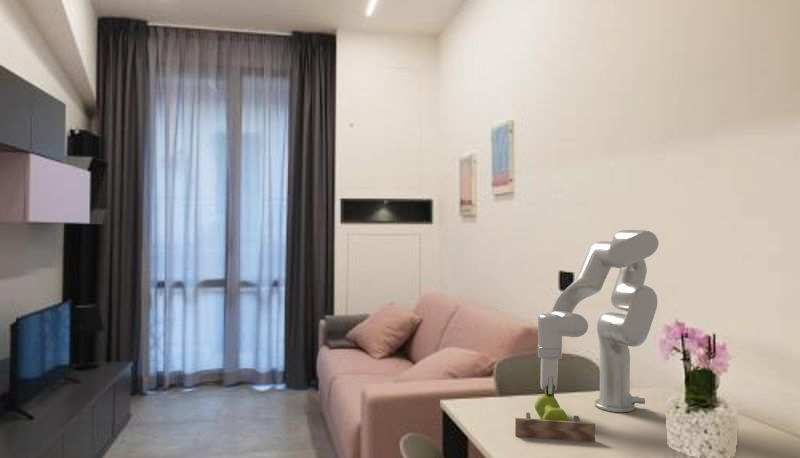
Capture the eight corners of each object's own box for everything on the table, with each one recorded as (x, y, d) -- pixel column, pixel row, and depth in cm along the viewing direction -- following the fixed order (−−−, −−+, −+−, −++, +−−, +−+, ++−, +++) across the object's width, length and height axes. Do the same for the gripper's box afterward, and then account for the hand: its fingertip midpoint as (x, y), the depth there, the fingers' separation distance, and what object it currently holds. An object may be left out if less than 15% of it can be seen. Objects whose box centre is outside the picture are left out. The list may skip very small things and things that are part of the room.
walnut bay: (589, 428, 173) (589, 411, 173) (594, 441, 162) (595, 424, 162) (515, 423, 177) (515, 406, 177) (515, 436, 166) (515, 418, 166)
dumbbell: (570, 435, 167) (570, 411, 167) (542, 434, 167) (543, 410, 167) (558, 416, 183) (559, 394, 183) (533, 416, 184) (533, 393, 184)
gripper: (537, 347, 194) (536, 401, 194) (538, 356, 179) (538, 415, 179) (560, 348, 192) (559, 402, 192) (563, 358, 178) (563, 417, 178)
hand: (549, 408), depth 186 cm, fingers closed
